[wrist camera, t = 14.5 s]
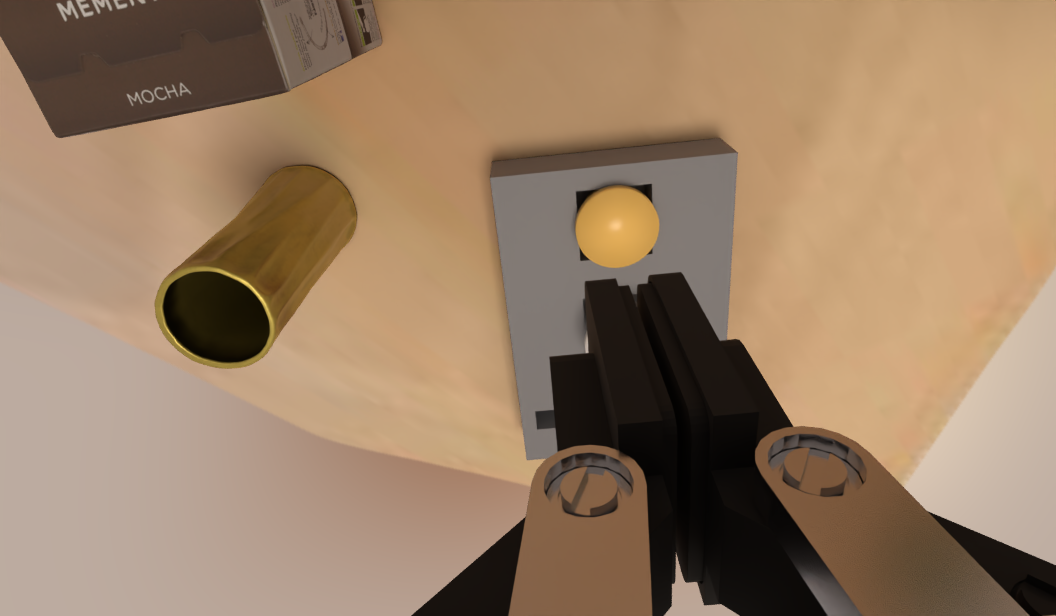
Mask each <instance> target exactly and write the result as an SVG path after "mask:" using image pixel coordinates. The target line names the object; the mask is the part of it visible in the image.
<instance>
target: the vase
mask: <svg viewBox="0 0 1056 616" xmlns="http://www.w3.org/2000/svg"><path fill="white" fill-rule="evenodd" d="M356 220H357V214H356V209H355V206H354V203H353V200H352V198H351V196H350V194H349V192H348V191H347V189H346V188H345V187H344V186H343V185H342V183H341V182H340V181H339V180H337V179H336V178H335V177H334V176H332V175H331V174H329V173H327V172H325V171H323V170H321V169H318V168H315V167H311V166H291V167H285V168H283V169H280V170H279V171H277V172H275V173H274V174H273V175H271V176H270V177H269V178H268V179H267V180H266V181H265V183H264V185H263V186H262V187H261V188H260V189H259V191H258V192H257V193H256V194H255V195H254V196H253V198H252V199H251V200H250V201H249V202H248V203H247V204H246V206H245V207H244V208H243V209H242V211H241V212H240V213H239V214H238V215H237V216H236V218H235V219H234V220H232V221H231V222H230V223H229V224H228V225H226V226H225V227H224V228H223V229H222V230H220V231H219V232H218V233H216V234H215V235H214V236H213V237H212V238H211V239H209V240H208V241H207V242H206V243H205V244H204V245H203V246H201V247H200V248H199V249H198V250H197V251H196V252H195V253H193V254H192V255H191V256H190V257H189V258H188V259H186V260H185V261H184V262H183V263H182V264H181V265H180V266H178V267H177V268H176V269H174V270H173V271H172V272H171V273H170V274H169V275H168V276H167V277H166V278H165V279H164V280H163V282H162V283H161V286H160V288H159V290H158V293H157V296H156V300H155V313H156V318H157V321H158V324H159V327H160V329H161V331H162V333H163V334H164V336H165V337H166V338H167V340H168V341H169V342H170V343H171V344H172V345H173V346H174V347H175V348H176V349H177V350H178V351H179V352H181V353H182V354H183V355H185V356H186V357H188V358H189V359H191V360H193V361H195V362H197V363H200V364H203V365H207V366H211V367H215V368H225V369H230V368H241V367H246V366H249V365H251V364H253V363H255V362H257V361H259V360H260V359H261V358H263V357H264V356H265V355H266V354H267V353H268V351H269V349H270V348H271V346H272V345H273V343H274V341H275V340H276V338H277V337H278V335H279V334H280V332H281V331H282V329H283V328H284V326H285V325H286V324H287V322H288V321H289V320H290V318H291V317H292V316H293V314H294V313H295V311H296V310H297V308H298V307H299V306H300V304H301V303H302V302H303V300H304V299H305V297H306V296H307V294H308V293H309V291H310V290H311V288H312V287H313V286H314V284H315V283H316V282H317V281H318V279H319V278H320V277H321V275H322V274H323V273H324V272H325V271H326V269H327V268H328V267H329V265H330V264H331V263H332V262H333V260H334V259H335V257H336V256H337V255H338V254H339V252H340V251H341V249H342V248H343V247H344V246H345V245H346V244H347V243H348V242H349V241H350V239H351V238H352V236H353V234H354V231H355V227H356Z"/></svg>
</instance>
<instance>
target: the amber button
mask: <svg viewBox="0 0 1056 616" xmlns="http://www.w3.org/2000/svg"><path fill="white" fill-rule="evenodd" d="M575 233H576V238H577V241H578V244H579V247H580V249H581V250H582V252H583V253H584V254H585V256H586V257H587V258H589V259H590V260H591V261H593V262H594V263H596V264H598V265H601V266H604V267H609V268H620V267H625V266H629V265H632V264H634V263H636V262H638V261H639V260H641V259H642V258H644V257H645V256H646V255H647V254H648V253H649V252H650V250H651V249H652V248H653V246H654V244H655V242H656V240H657V237H658V233H659V218H658V215H657V212H656V210H655V208H654V206H653V204H652V203H651V201H650V200H649V199H648V197H647V196H646V195H645V194H643V193H642V192H641V191H639V190H637V189H635V188H632V187H629V186H623V185H614V186H608V187H605V188H602V189H595V190H593V191H592V192H591V193H590V194H589V195H588V196H587V197H586V199H585V201H584V203H583V204H582V205H581V207H580V209H579V211H578V213H577V216H576V220H575Z"/></svg>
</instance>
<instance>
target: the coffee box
mask: <svg viewBox="0 0 1056 616" xmlns="http://www.w3.org/2000/svg"><path fill="white" fill-rule="evenodd" d="M0 36H1V38H2V40H3V41H4V43H5V45H6V47H7V48H8V50H9V52H10V54H11V55H12V57H13V59H14V60H15V62H16V64H17V66H18V67H19V69H20V71H21V72H22V74H23V76H24V78H25V80H26V82H27V84H28V86H29V88H30V90H31V92H32V94H33V95H34V97H35V99H36V101H37V103H38V105H39V107H40V109H41V111H42V113H43V115H44V117H45V119H46V120H47V122H48V124H49V126H50V128H51V130H52V132H53V133H54V134H55V136H56V137H58V138H64V137H70V136H76V135H81V134H87V133H92V132H97V131H102V130H107V129H112V128H117V127H122V126H127V125H132V124H137V123H142V122H147V121H152V120H157V119H162V118H167V117H172V116H177V115H182V114H187V113H192V112H196V111H201V110H206V109H210V108H215V107H220V106H225V105H231V104H236V103H241V102H245V101H250V100H255V99H260V98H264V97H269V96H273V95H278V94H282V93H285V92H288V91H290V90H291V89H292V88H295V87H297V86H299V85H301V84H303V83H305V82H307V81H310V80H312V79H314V78H316V77H318V76H320V75H322V74H323V73H326V72H328V71H330V70H332V69H334V68H336V67H338V66H340V65H342V64H344V63H346V62H348V61H350V60H351V59H353V58H355V57H357V56H359V55H361V54H363V53H366V52H367V51H369V50H371V49H374V48H376V47H378V46H380V45H381V44H382V39H381V35H380V31H379V27H378V23H377V19H376V15H375V11H374V7H373V3H372V0H0Z"/></svg>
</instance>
